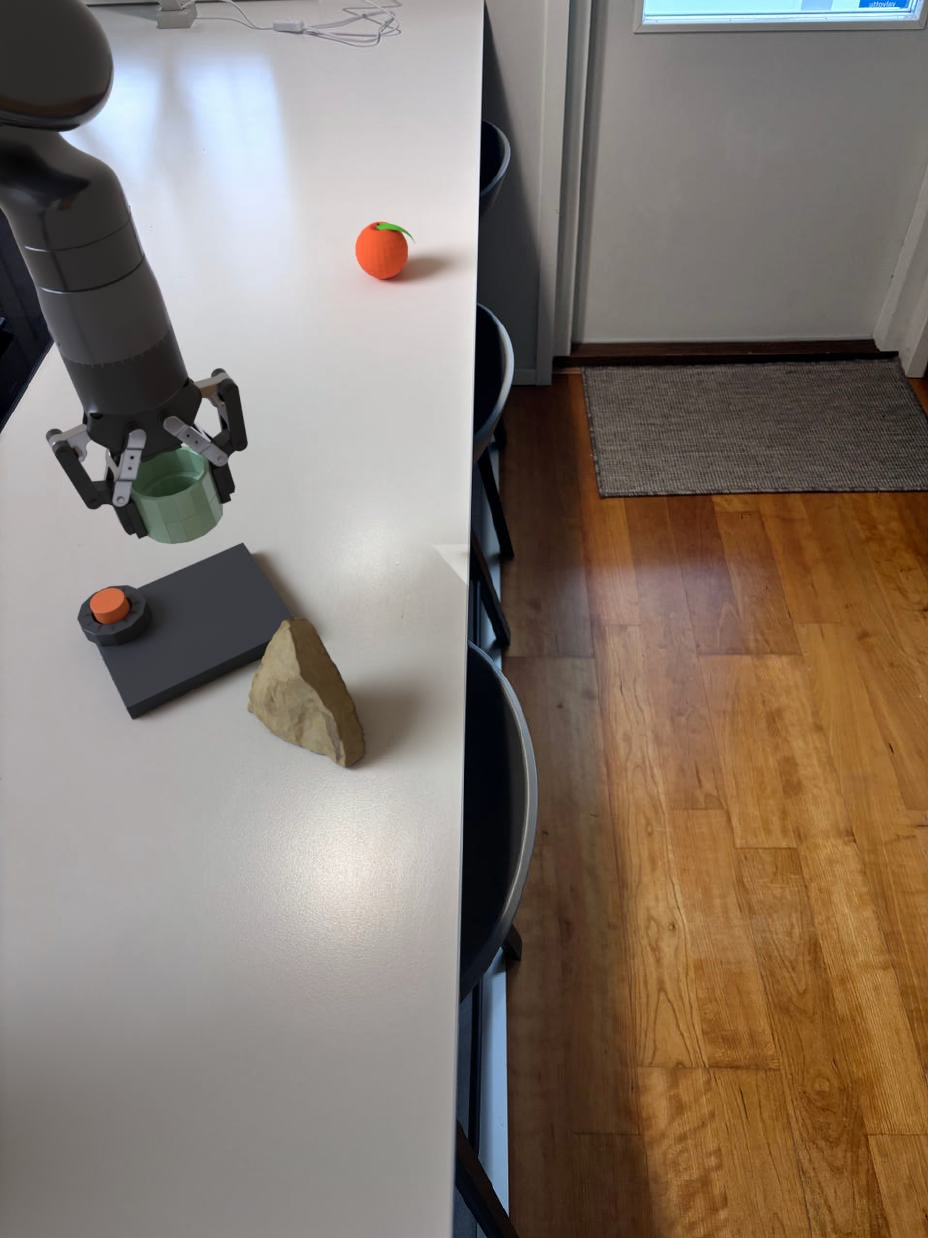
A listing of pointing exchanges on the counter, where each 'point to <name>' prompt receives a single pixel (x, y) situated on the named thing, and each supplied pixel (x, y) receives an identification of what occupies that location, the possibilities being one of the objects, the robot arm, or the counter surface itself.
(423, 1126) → the counter surface
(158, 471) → the bowl
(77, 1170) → the counter surface
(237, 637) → the scale
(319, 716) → the rock
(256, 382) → the counter surface
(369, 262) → the clementine
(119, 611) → the button
